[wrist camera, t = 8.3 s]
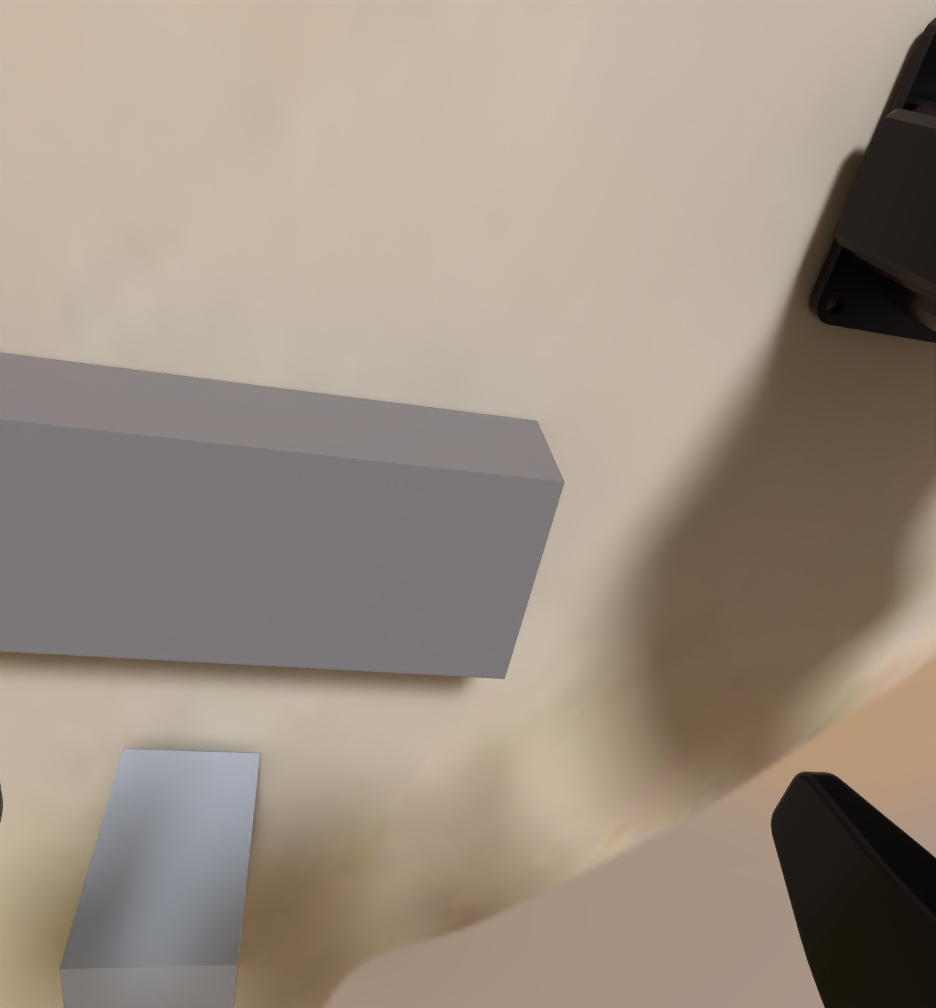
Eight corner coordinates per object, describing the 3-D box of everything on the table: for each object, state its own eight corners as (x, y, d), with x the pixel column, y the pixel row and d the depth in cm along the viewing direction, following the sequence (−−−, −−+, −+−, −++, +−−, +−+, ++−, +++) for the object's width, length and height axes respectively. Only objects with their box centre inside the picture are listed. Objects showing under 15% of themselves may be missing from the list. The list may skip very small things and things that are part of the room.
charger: (260, 753, 25) (237, 964, 20) (250, 855, 28) (227, 1067, 22) (123, 748, 24) (59, 969, 19) (126, 854, 27) (71, 1075, 21)
